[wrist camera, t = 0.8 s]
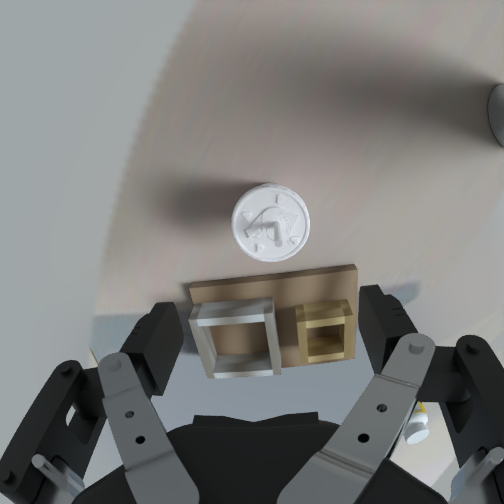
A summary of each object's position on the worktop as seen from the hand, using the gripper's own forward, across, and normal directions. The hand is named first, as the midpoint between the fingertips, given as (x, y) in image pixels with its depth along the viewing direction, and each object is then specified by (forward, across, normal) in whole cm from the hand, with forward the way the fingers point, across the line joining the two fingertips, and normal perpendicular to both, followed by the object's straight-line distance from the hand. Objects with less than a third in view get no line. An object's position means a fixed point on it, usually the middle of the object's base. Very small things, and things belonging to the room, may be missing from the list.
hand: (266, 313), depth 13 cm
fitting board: (+22, +1, +16) cm, 27 cm away
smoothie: (+22, 0, 0) cm, 22 cm away
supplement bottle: (+22, -20, +36) cm, 47 cm away
